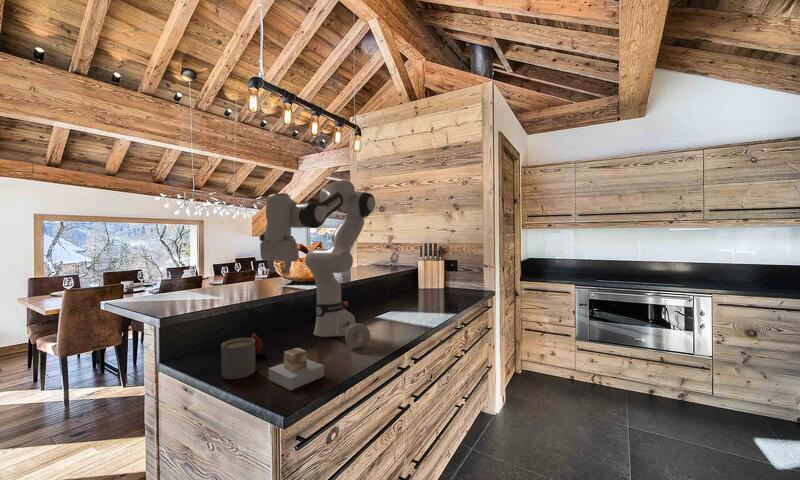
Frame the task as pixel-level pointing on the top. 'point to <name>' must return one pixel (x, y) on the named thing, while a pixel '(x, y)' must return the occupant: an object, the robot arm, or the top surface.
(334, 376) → the top surface
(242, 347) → the coffee mug
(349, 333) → the donut
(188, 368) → the top surface
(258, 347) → the onion
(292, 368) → the maple cube
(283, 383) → the painted block
